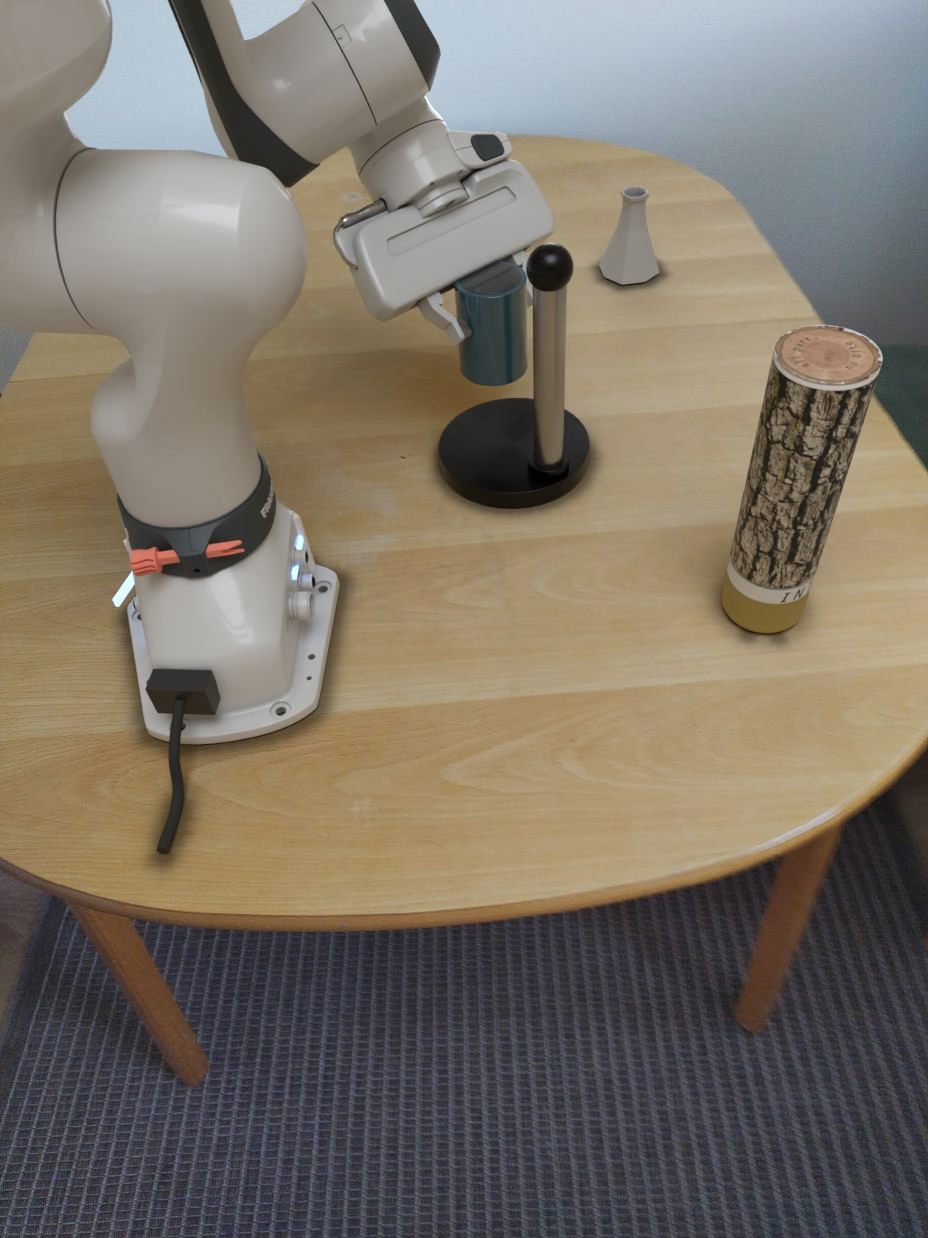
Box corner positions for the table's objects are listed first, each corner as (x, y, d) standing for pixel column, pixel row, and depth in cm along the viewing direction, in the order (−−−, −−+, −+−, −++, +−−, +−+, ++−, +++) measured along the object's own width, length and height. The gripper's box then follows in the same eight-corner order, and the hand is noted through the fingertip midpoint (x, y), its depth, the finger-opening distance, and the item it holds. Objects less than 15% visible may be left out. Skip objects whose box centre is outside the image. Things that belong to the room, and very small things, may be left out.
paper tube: (709, 621, 80) (761, 369, 61) (733, 568, 84) (790, 316, 65) (790, 647, 77) (870, 394, 59) (811, 592, 81) (893, 337, 62)
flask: (589, 265, 119) (592, 186, 112) (638, 250, 121) (644, 171, 113) (619, 291, 115) (624, 211, 107) (669, 275, 116) (678, 195, 109)
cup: (533, 381, 87) (533, 291, 81) (465, 390, 87) (459, 301, 80) (520, 343, 92) (519, 255, 85) (455, 352, 91) (449, 264, 85)
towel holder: (410, 458, 96) (379, 227, 78) (518, 395, 102) (513, 166, 84) (508, 531, 89) (500, 293, 70) (619, 458, 94) (638, 221, 76)
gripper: (334, 205, 76) (420, 358, 78) (520, 127, 84) (594, 267, 87) (312, 240, 82) (394, 382, 84) (489, 163, 90) (559, 294, 92)
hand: (496, 323), depth 85 cm, fingers closed on cup, 6 cm apart
